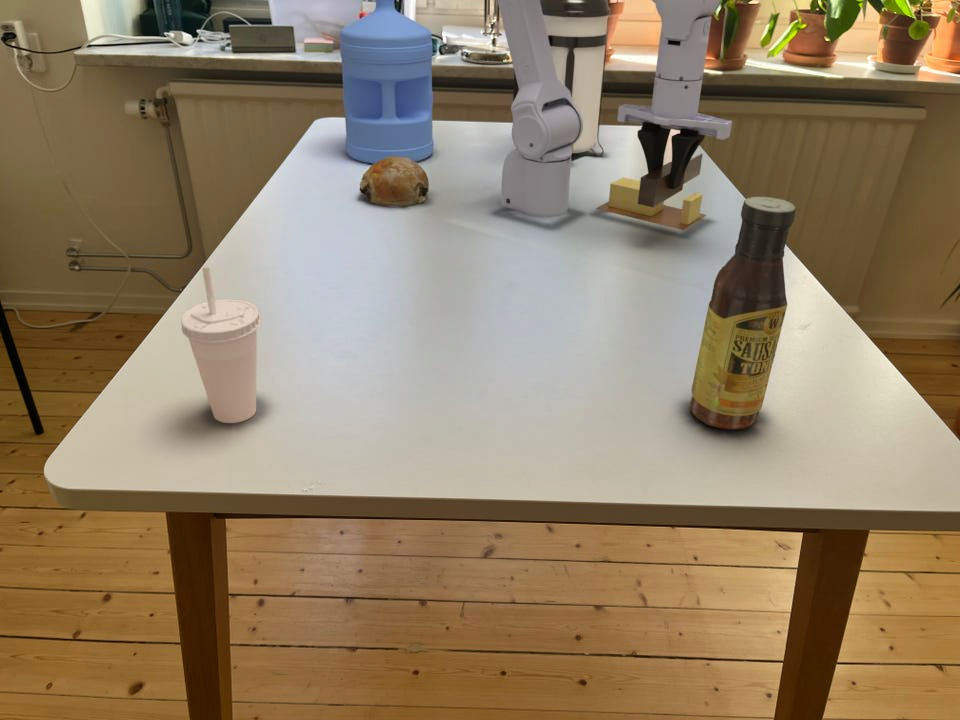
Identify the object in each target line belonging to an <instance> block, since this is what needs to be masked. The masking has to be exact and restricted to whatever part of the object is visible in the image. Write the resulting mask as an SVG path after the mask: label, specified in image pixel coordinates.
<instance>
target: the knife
mask: <svg viewBox="0 0 960 720" xmlns="http://www.w3.org/2000/svg"><path fill="white" fill-rule="evenodd" d="M703 155H704V154H703V153H699V154H697V155H696V156H694V157H692V158H691V160H690V161H689V163H688V166H687V168H686V170H685V172H684V175H683V178H682V180H681V184H680V186H679V187H677V188H675V189H669V177H670V171H671V165H672V161H669V162H667V163H664V164H663V166H661V167H660V168H658V169H656V170H654V171H652V172H650V173H648V172H647V173H646V174H644V175H642V176H641V177H640V180H639V181H640V189H639V197H638V204H640V205H645V206H649V207H655V206H656V205H658V204H660V203H661V202H663V201H664V202H665V201H667V200H668V199H670V198H672V197H673V196H675V195H676V194H678V193H680V192H681V191H683V189H684V185H685V184H687V183H688V182H690V181H692V180H693V179H695V178H696V177H698V176H700V174H701V168H702V162H703Z"/></svg>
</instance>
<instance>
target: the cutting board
mask: <svg viewBox="0 0 960 720" xmlns="http://www.w3.org/2000/svg"><path fill="white" fill-rule="evenodd" d="M608 204H609V201H607V202H605V203H604V204H602V205H600V206H598V207H595V209H596V210H600V211H603V212H608V213H612V214H616V215H620V216H624V217H629V218H632V219H635V220H636V219H637V220H639V221H640V220H641V221H645V222H649V223H653V224H657V225H661V226H665V227H670V228H674V229H677V230H681V231H684V230H686V229H688V228H689V227H691V226H692V225H694V224H696V223H697V222H698V221H700V220H702V219H704V217H706V216H707V214H705V213H701V212H700V214H699V218H698V219H696V220H694V221H693V222H691V223H690V224H688V225H685V224H681V223H680V220H681V213H682V208H678V207H674V206H668V205H666V204H663V210H661V211H659V212H658V213H656V214H654V215H652V216H647V215H643V214H639V213H635V212H630V211H626V210H622V209H618V208H614V207H609V206H608Z"/></svg>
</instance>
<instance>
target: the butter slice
mask: <svg viewBox="0 0 960 720" xmlns="http://www.w3.org/2000/svg"><path fill="white" fill-rule="evenodd" d="M702 200H703V193H698V192H694V193H691V194H690V195H688V196H687V197H685V198H683V201H682V205H681V206H682V207H681V209H682V213H681V220H680V223H681V224H685V225H688V224H690V223H691V222H693V221H694V220H696V219H698V218H699V214H700V213H701V207H702Z"/></svg>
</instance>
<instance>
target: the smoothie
mask: <svg viewBox="0 0 960 720" xmlns="http://www.w3.org/2000/svg"><path fill="white" fill-rule="evenodd" d="M202 275H203V281H204V288H205V293H206V300H207V301H205V302H202V303H198V304H196V305H194V306H192V307H190V308H188V309H187V310H186V311H185V312H184V313H183V314H182V316H181V317H180V323H181V331H182V334H183V335H184V336H185V337H186V338H188V341H189V345H190V348H191V351H192V355H193V357H194V360H195V364H196V366H197V369H198V372H199V375H200V379H201V381H202V385H203V388H204V391H205V394H206V397H207V400H208V403H209V407H210V409H211V413H212V415H213V418H214V419H215V420H216V421H218V422H220V423H223V424H237V423H242V422H245V421H248V420H249V419H251V418H252V417H253V416H254V415H255V414H256V412H257V364H258V363H257V362H258V361H257V359H258V357H257V351H258V348H257V347H258V345H257V344H258V329H259V327H260V325H261V322H262V321H261V317H260V312H259V309H258V307H257V306H256V305H255V304H253V303H251V302H248V301H245V300H241V299H231V298H230V299H229V298H225V299H215V295H214V288H213V287H214V286H213V282H212V275H211V268H210V266H209V265H203V266H202Z"/></svg>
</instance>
